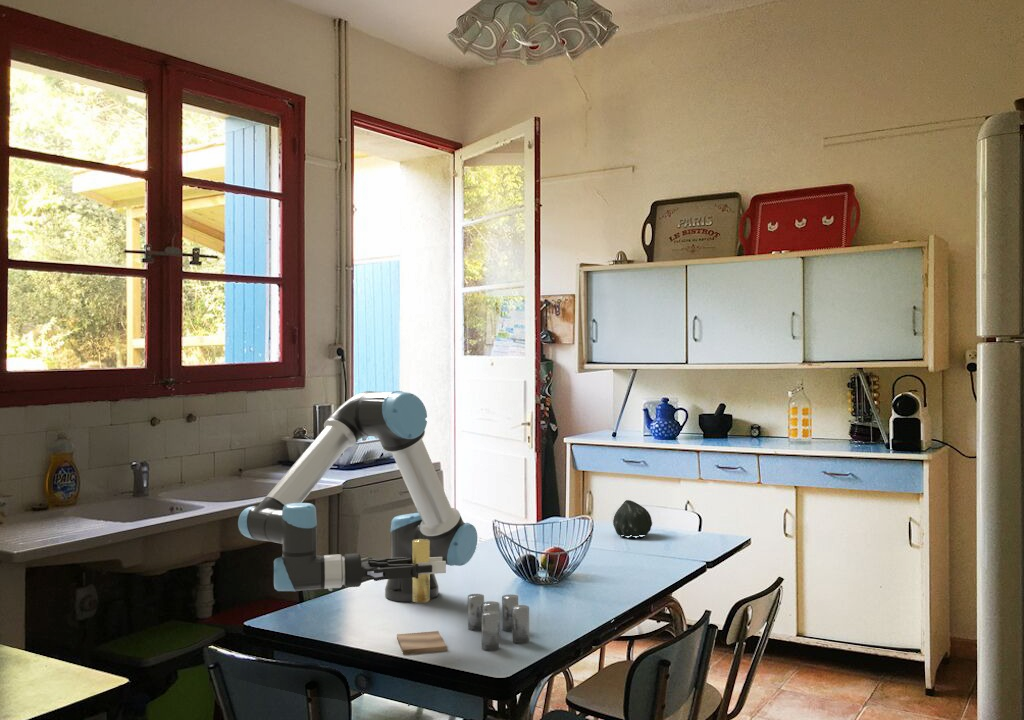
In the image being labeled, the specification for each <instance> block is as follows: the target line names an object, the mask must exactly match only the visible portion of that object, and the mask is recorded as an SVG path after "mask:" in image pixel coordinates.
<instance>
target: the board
mask: <svg viewBox="0 0 1024 720" xmlns="http://www.w3.org/2000/svg"><path fill="white" fill-rule="evenodd" d="M396 641H397V643H398V646H399V647H400V650H401V652H403V653H402V655H410V654H411V655H412V653H414V654H422V652H425V653H434V651H437V652H445V651H448V650H447V649H448V645H447V644H446V642H445V640H444V639H443V636H442V635H441V634H440V632H439V631H438V630H435V631H434V630H433V631H423V632H410V633H401V634H400V633H398V634H396Z"/></svg>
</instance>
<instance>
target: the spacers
mask: <svg viewBox="0 0 1024 720" xmlns="http://www.w3.org/2000/svg"><path fill="white" fill-rule="evenodd" d="M501 609H502V610H501V611H502V612H501V614H502V616H501V620H502V621H501V627H502V631H504V632H511V633H512V634H511V636H512V637H511V639H512V643H513V644H516V645H517V644H518V645H524V644H528V643H530V607H529V605H525V604H519V596H518V595H516V594H503V595H502V596H501ZM467 628H468V630H469V631H473V632H474V631H475V632H477V631H481V649H482V651H487V652H494V651H495V652H496V651H497V650H500V634H501V633H500V631H501V630H500V602H499V601H492V600H491V601H485V596H484V594H482V593H472V594H468V595H467Z"/></svg>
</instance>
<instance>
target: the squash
mask: <svg viewBox="0 0 1024 720" xmlns="http://www.w3.org/2000/svg"><path fill="white" fill-rule="evenodd" d="M652 520H653V519H652V516H651V514H650V512H649V511H648V510H647V509H646V508H645V507H644V506H642V505H641V504H639V503H637V502H635V501H632V500H630V499H625V501H623V503H622V504H621V505H620V507H618V509H617V510H616V512H615V513H614V516H613V519H612V522H613V523H612V524H613V527H614V529H615V532H616V534H617V536H619V535H624V536H630V535H632V536H639V535H646V536H647V535H648V533H649V532H651V530H652V526H653V521H652Z"/></svg>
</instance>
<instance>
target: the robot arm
mask: <svg viewBox="0 0 1024 720" xmlns="http://www.w3.org/2000/svg"><path fill="white" fill-rule="evenodd" d="M427 418H428V414H427V409H426V406H425V404H424V402H423V401H422V400H421V398H420V397H418V396H417V395H415V394H414V393H411V392H406V391H401V390H395V391H374V390H373V391H370V390H369V391H364V392H359V393H357V394H355V395H353V396H352V397H350V398H349V399H347V400H346V401H344V402H343V403H342V404H341V405H339V407H337V408H336V409H335V410H334V411H333V413H331V414H330V415H329V416H328V418H327V419H326V420H324V423H323V429H322V431H321V432H320V433H319V434H318V435H317V437H316V438H315V439H314V440H313V441H312V442H311V443H310V445H309V446H308V447H307V448H306V449H305V450H304V452H303V453H302V454H301V455H300V456H299V457H298V459H297V460H296V461H295V462H294V464H292V466H291V467H290V468H289V470H287V472H285V474H284V475H283V476H282V478H281V479H279V481H278V482H277V484H275V485H274V486H273V488H272V489H271V490H270V492H269V493H268V494H267V495H266V496H265V497H264V499H263V500H261V502H259V504H258V505H252V506H248V507H246V508H244V509H243V510H242V511H241V513H240V514H239V515H238V521H237V526H238V530H239V532H240V534H241V535H243V536H244V537H245V538H249V539H251V540H255V541H263V542H271V543H277V544H281V545H282V554H281V555H282V556H280V557H276V558H275V559H274V560H273V587H274V590H276V591H277V592H301V591H310V590H311V591H312V590H313V591H314V590H325V589H326V590H327V589H328V591H330V592H332V591H333V590H334V589H340V588H342V587H343V586H344V587H345V588H347V589H348V588H359V587H361V586H362V578H365V579H367V578H368V579H369V580H373V581H375V582H378V581H384V580H386V585H385V588H384V597H385V598H386V599H388V600H390V601H394V602H395V601H396V602H403V603H406V602H413V578H415V579H417V578H418V575H423V574H430V600H431V599H434V598H437V597H438V596H439V589H440V588H439V583H438V581H437V577H436V574H437V575H438V574H446V573H447V566H452V567H453V566H454V567H455V566H457V567H461V566H465V565H466V564H467V563H469V562H470V561H471V559H472V558H473V556H474V555H475V553H476V550H477V545H478V532H477V531H478V530H477V529H476V527H475V526H474V524H471V523H469V522H464V520H463V518H462V516H461V513H460V512H459V509H457V508H454V507H452V506H451V505H450V502H449V499H448V497H447V494H446V493H445V489H444V488H443V484H442V482H441V480H440V478H439V476H438V474H437V471H436V468H435V467H434V464H433V462H432V460H431V458H430V454H429V452H428V450H427V448H426V445H425V443H424V440H423V438H424V436H425V433H426V427H427V424H428V421H427V420H426V419H427ZM366 437H377V438H378V441H379V442H380V445H381V446H382V448H383V450H384V451H385V452H387V453H391V454H392V456H393V459H394V461H395V463H396V465H397V468H398V470H399V472H400V474H401V476H402V479H403V481H404V483H405V486H406V487H407V488H406V489H407V490H408V492H409V494H410V498H411V500H412V502H413V504H414V506H415V508H416V511H417V512H414V513H406V514H400V515H396V516H394V517H393V518H392V519H391V523H390V557H370V558H368V560H367V561H362V557H361V554H360V553H358V552H357V553H345V554H344V555H342V554H341V553H340V554H338V553H337V554H336V553H335V554H325V555H317V549H318V548H317V540H318V539H317V535H318V534H317V531H318V530H317V529H318V527H317V526H318V519H317V508H316V506H315V504H313V503H310V502H304V500H305V499H306V498H307V497H308V496H309V495H310V493H311V492H312V491H313V489H314V488H315V487H316V486H317V484H318V483H319V482H320V481H321V480H322V478H323V477H324V476H325V475H326V474H327V472H328V471H329V470H330V469H331V467H332V466H333V465H334V464H335V463H336V462H337V460H338V459H340V457H341V456H342V454H343V453H344V451H346V449H347V448H352V447H353V446H355V444H356V443H357V442H358V441H359V440H360V439H362V438H366ZM415 539H428V540H430V562H418V564H412V541H413V540H415ZM413 603H414V602H413Z"/></svg>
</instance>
